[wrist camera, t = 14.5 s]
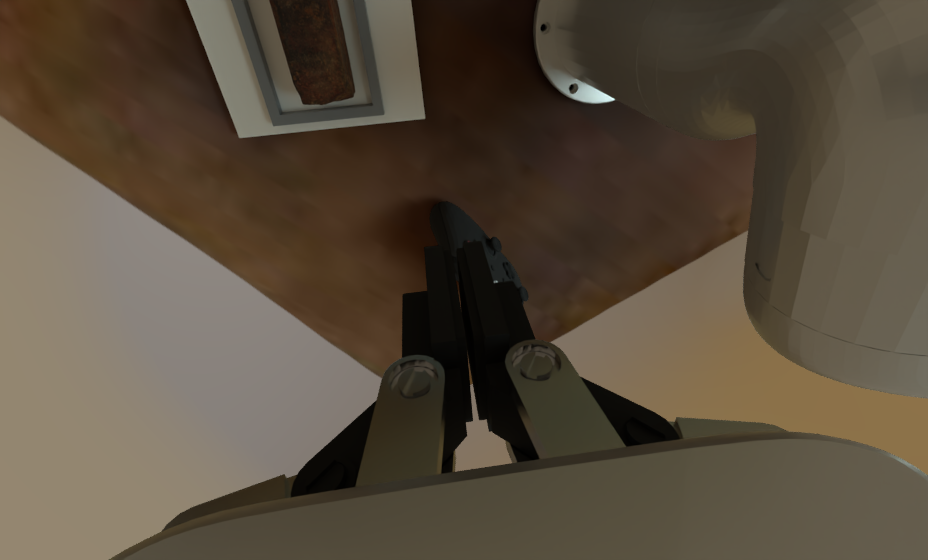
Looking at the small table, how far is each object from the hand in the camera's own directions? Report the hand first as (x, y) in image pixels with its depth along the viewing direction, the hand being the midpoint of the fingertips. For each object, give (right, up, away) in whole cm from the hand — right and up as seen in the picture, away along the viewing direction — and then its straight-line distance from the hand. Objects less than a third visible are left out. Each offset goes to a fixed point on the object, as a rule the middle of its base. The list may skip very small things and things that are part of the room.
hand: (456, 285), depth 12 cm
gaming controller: (+2, +4, +33) cm, 34 cm away
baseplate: (-12, +21, +20) cm, 31 cm away
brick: (-11, +20, +19) cm, 30 cm away
